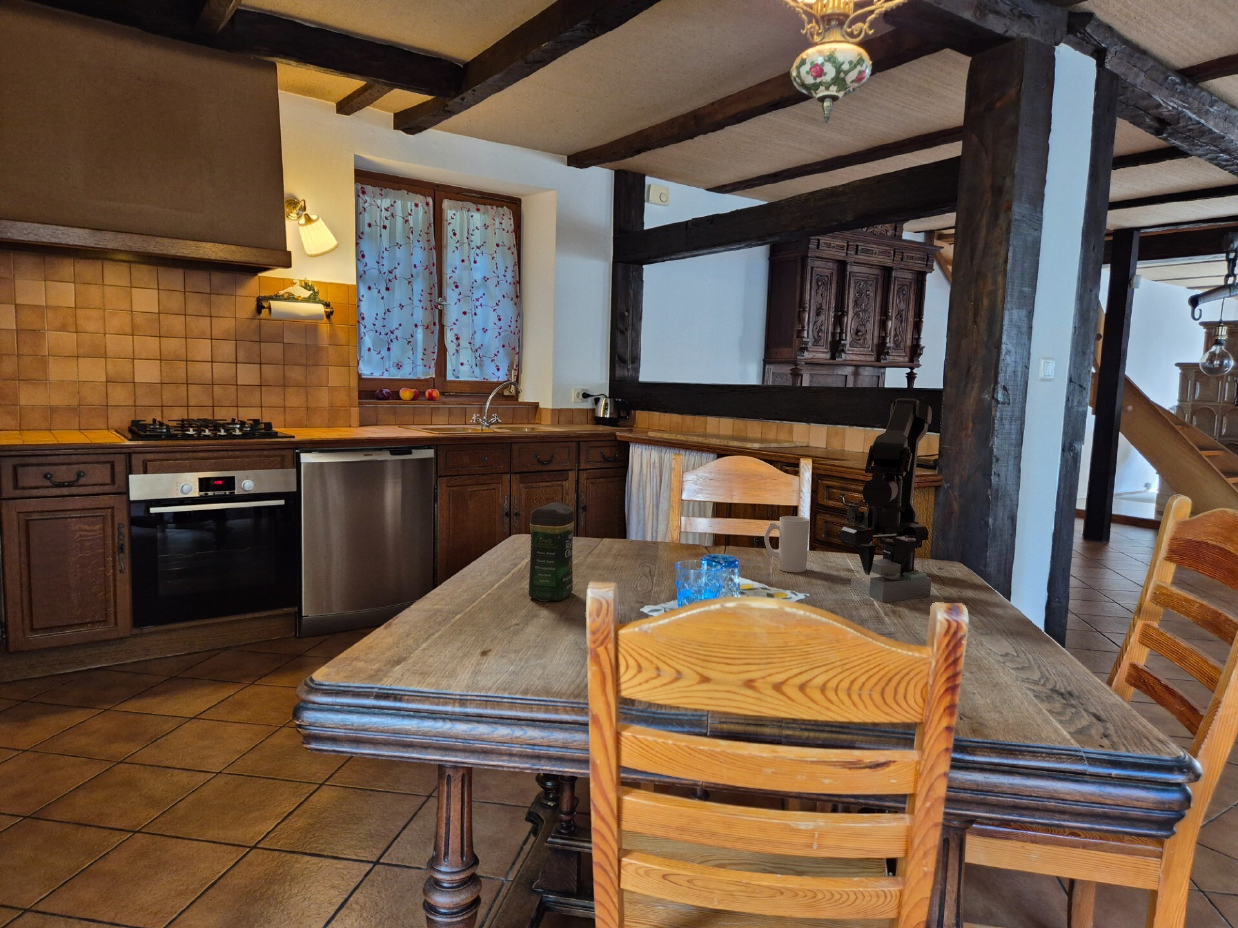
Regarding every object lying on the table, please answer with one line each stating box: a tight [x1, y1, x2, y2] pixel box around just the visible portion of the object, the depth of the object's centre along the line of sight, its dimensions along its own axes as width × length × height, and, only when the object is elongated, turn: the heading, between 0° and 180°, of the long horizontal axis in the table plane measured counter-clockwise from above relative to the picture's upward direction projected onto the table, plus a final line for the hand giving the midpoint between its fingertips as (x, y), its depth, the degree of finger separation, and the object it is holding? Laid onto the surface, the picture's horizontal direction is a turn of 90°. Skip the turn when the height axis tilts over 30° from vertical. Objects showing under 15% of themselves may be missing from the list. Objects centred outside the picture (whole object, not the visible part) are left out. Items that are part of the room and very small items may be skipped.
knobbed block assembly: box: [850, 570, 932, 603], centre depth 159 cm, size 11×12×5 cm
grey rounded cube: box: [863, 558, 901, 583], centre depth 161 cm, size 5×5×6 cm
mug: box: [763, 515, 811, 574], centre depth 177 cm, size 10×7×12 cm, turn 78°
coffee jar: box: [528, 502, 575, 602], centre depth 151 cm, size 10×8×19 cm
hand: (882, 573), depth 161 cm, fingers open, 7 cm apart
